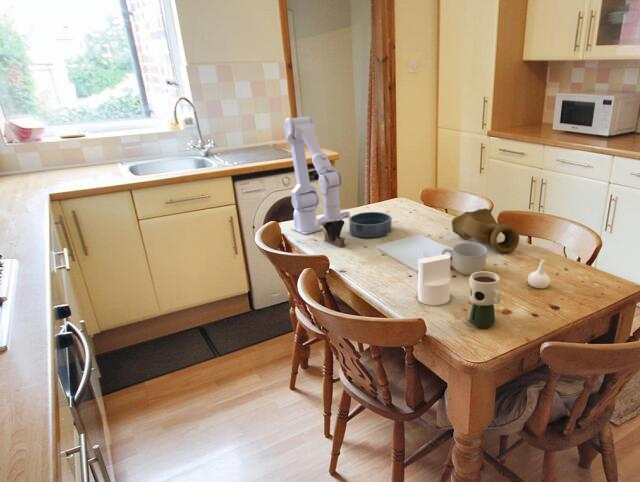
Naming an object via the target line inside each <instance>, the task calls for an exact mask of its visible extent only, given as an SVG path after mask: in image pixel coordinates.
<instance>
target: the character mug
mask: <svg viewBox="0 0 640 482" xmlns="http://www.w3.org/2000/svg"><path fill="white" fill-rule="evenodd" d="M500 284H501V278H500V276H499V275H498V274H496V273H495V272H492V271H488V270H487V271H484V270H482V271H480V272H475V273H473V274H472V275H471V276H469V278H468V287H469V290H468V291H469V292H468V296H469V297H468V298H469V300H470V302H471V303H472V304H471V310H470V315H469V322H470V324H472V323H473V326H474V327H477V328H485V329H486V328H488V327H492V326H493V325H494V324H495V322H496V315H495V314H496V312H495V304H500V303H501V296H502V292H501V291H500V286H501V285H500Z"/></svg>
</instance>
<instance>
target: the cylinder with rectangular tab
mask: <svg viewBox="0 0 640 482" xmlns="http://www.w3.org/2000/svg"><path fill="white" fill-rule="evenodd" d="M451 259H452V257H451V256H450V255H448V254H446V253H445V254H443V255H441V254H438V255H434V256H429V257H423V258H419V259H417V300H418V302H420V303H422V304H424V305H428V306H442V305H445V304H447V303H448V302H449V301H450V299H451V298H450V297H451V265H450V260H451Z"/></svg>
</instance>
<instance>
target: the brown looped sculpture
mask: <svg viewBox="0 0 640 482" xmlns="http://www.w3.org/2000/svg"><path fill="white" fill-rule="evenodd" d="M451 230H452V233H454V234H455V235H457V236H458V237H460V238H461V239H463V240H468V239H474V240H477V241H479V242H482V243H486V244H489V245H491V247H492V248H493V249H494V250H495V251H496V252H498V253H500V254H509V253H511V252H513V251H515V250H516V249H517V247H518V246H519V243H520V234H519V231H518V230H517V229H516V227H514V226H513V225H511V224H505V223H504V224H499V223H498V222H497V221H496V219H495V217H494V216H493V213H492V212H491V211H490V210H489V208H487V207H486V208H485V207H484V208H479V209H477V210H473V211H465V212H463V213H462V214H460V215H458V216H455V217H453V218H452V219H451ZM501 233H502V235H503V236H504V240H502V241H500V242H498V241H497V240H498V237H499V235H500V234H501Z"/></svg>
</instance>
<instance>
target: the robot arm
mask: <svg viewBox="0 0 640 482" xmlns="http://www.w3.org/2000/svg"><path fill="white" fill-rule="evenodd" d="M315 123H316V122H315V121H314V119H313V117H312V116H310V115H307V116H301V117H287V118H286V119H285V122H284V124H283V128H284V133H285V138H286V141H287V142H289V146H290V151H291V152H290V153H291V157H292V164H293V169H294V175H295V176H294V177H295V181H296V185H295V187H293V189H292V190H291V191H290V193H291V205H292V208H293V209H294V211H293V214H292V215H293V224H294V225H293V226H294V227H292V230H294V231H296V232H298V233H301V234H304V235H308V234H312V233H315V232H319V231H322V230H323V229H324V230H325V233H326V232H327V234H328V237H329V240H330V241H332V242H334V239H335V237H334V234H335V235H337V236H340V237H341V234H342V233H341V232H342V230H343V227H344V226H345V221H344V219H349V218H350V217H351V212H349V211H343V212H341V204H340V203H341V202H340V186H341V185H342V176H341V173H340V171H339V170H337V169H336V168H335V167H333V165H332V163H331V161H330V159H329V157H328V155H327V153H325V152H323V151H322V149H321V147H320V144H319V142H318V138H317V136H316V124H315ZM305 145H306V148H307V149H308V151H309V152H310V154H311V155H312V158H311V162H312V165H313V167H314V168H315V171H316V173H317V175H318V179H317V181H318V185H319V187H320V192H321V194H322V200H323V212H324V216H322V217H320V218H318V219H317V210H316V209H318V206H319V205H320V196H319V193H318V189H317V187H316V186H314V185H312V183H311V182H310V175H309V170H308V162H307V155H306V149H305ZM321 226H322V227H323V228H322V227H321Z"/></svg>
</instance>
